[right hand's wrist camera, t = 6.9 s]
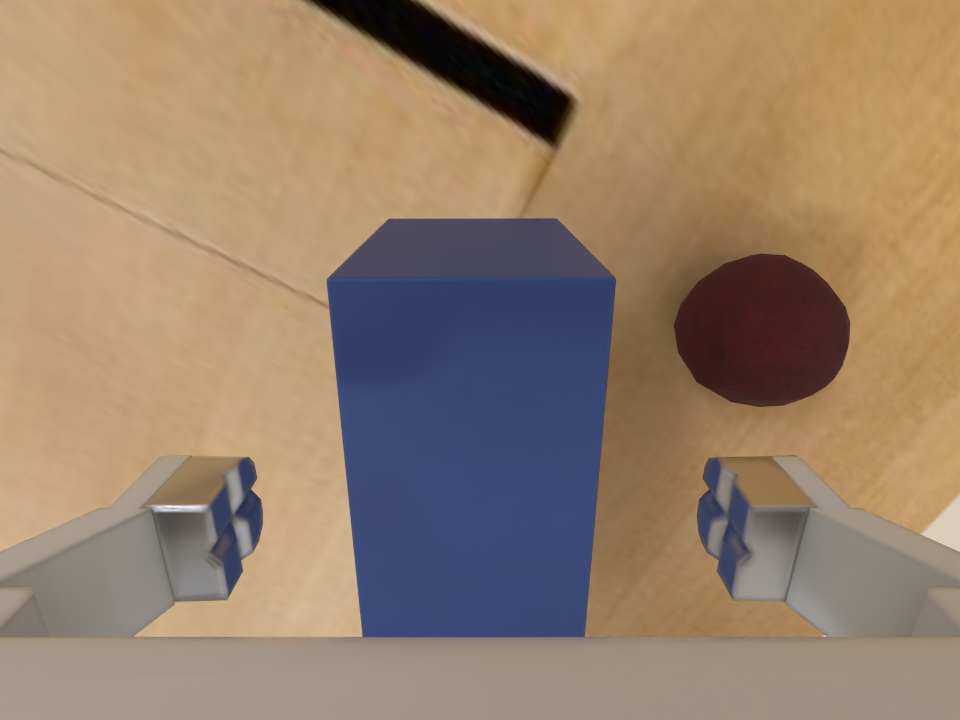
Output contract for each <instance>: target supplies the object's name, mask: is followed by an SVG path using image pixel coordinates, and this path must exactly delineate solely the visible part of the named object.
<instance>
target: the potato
mask: <svg viewBox="0 0 960 720" xmlns="http://www.w3.org/2000/svg"><path fill="white" fill-rule="evenodd" d="M674 328H675V335H676V342H677V348H678V353H679V354H680V356H681V358H682V359H683V361H684V362H685V364H686V365H687V367H688V368H689V370H690V371H691V373H692V375H693V376H694V378H695V380H696V382H698V383H699V384H701V385H703V386H705V387H706V388H708V389H710V390H712V391H713V392H715V393H717V394H718V395H720V396H722V397H724V398H725V399H727V400H729V401H731V402H735V403H740V404H746V405H752V406H757V407H764V406H783V405H786V404H789V403H792V402H795V401H798V400H801V399H804V398H806V397H808V396H811V395H813V394H814V393H816V392H818V391H819V390H821V389H823V388H824V387H826V386H827V385H828V384H829V383H830V382H831V381H832V380H833V379H834V378H835V376H836V375H837V373H838V372H839V370H840V369H841V367H842V365H843V362H844V359H845V356H846V352H847V349H848V345H849V335H850V321H849V317H848V314H847V310H846V307H845V306H844V304H843V303H842V302H841V300H840V299H839V298H838V296H837V295H836V294H835V292H834V291H833V290H832V288H831V287H830V286H829V285H828V283H827V282H826V281H825V280H824V279H823V278H821V277H820V276H819V275H818V274H817V273H816V272H815V271H814V270H812V269H811V268H809V267H807V266H806V265H804V264H802V263H800V262H798V261H796V260H794V259H792V258H789V257H787V256H785V255H772V254H757V255H751V256H748V257H745V258H742V259H739V260H735V261H732V262H729V263H726V264H723V265H722V266H721V267H719V268H718V269H716V270H715V271H713V272H712V273H710V274H709V275H707V276H706V277H704V278H703V279H701V280H700V281H699V282H698V283H697V284H696V285H695V287H694V288H693V289H692V291H691V292H690V293H689V294H688V296H687V297H686V298H685V300H684V301H683V302H682V303H681V306H680V309H679V312H678V315H677V318H676V321H675V324H674Z"/></svg>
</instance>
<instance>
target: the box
mask: <svg viewBox="0 0 960 720" xmlns="http://www.w3.org/2000/svg"><path fill="white" fill-rule="evenodd" d="M615 286H616V279H615V277H614V276H613V275H612V274H611V273H610V272H609V271H608V270H607V269H606V268H605V267H604V266H603V265H602V264H601V263H600V262H599V261H598V260H597V259H596V258H595V257H594V256H593V255H592V254H591V253H590V252H589V251H588V250H587V249H586V248H585V247H584V246H583V245H582V244H581V243H580V242H579V241H578V240H577V239H576V238H575V237H574V235H573V234H572V233H571V232H570V231H569V230H568V229H567V228H566V227H565V226H564V225H563V224H562V223H561V222H560V221H559V220H558V219H388V220H387V221H386V222H385V223H384V224H383V225H382V226H381V227H380V228H379V229H378V230H377V231H376V232H375V233H374V234H373V235H372V236H371V237H370V238H369V239H368V240H367V241H366V242H364V243H363V244H362V245H361V246H360V247H359V248H358V249H357V250H356V251H355V252H354V253H353V254H352V255H351V256H350V257H349V258H348V259H347V260H346V261H345V262H344V263H343V264H342V265H341V266H340V267H339V268H338V269H337V270H336V271H335V272H334V273H333V274H332V275H331V276H330V277H329V278H328V279H327V289H328V299H329V309H330V319H331V328H332V338H333V348H334V358H335V368H336V378H337V388H338V398H339V408H340V417H341V427H342V437H343V447H344V457H345V467H346V477H347V487H348V496H349V506H350V516H351V526H352V536H353V546H354V556H355V566H356V575H357V585H358V595H359V605H360V615H361V625H362V635H363V637H585V627H586V615H587V604H588V593H589V581H590V570H591V559H592V547H593V536H594V525H595V513H596V502H597V490H598V479H599V468H600V456H601V445H602V434H603V422H604V411H605V400H606V388H607V377H608V366H609V354H610V343H611V331H612V320H613V309H614V297H615Z"/></svg>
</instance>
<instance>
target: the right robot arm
mask: <svg viewBox="0 0 960 720" xmlns="http://www.w3.org/2000/svg"><path fill="white" fill-rule="evenodd" d="M256 480H257V475H256V470H255V465H254V462H253V461H252V460H251V459H250V458H249V457H221V456H165V457H160V458H159V459H158V460H157V461H156V462H155V463H154V464H153V465H152V466H151V467H150V468H149V469H148V470H147V471H146V472H145V473H144V474H143V475H142V476H141V477H140V478H139V479H138V480H136V481H135V482H134V483H133V484H132V485H131V486H130V487H129V488H128V489H127V490H126V491H125V492H124V493H123V494H122V495H121V496H120V497H119V498H118V499H117V500H116V501H115V502H114V503H113V504H112V505H111V506H110V507H109V508H99V509H97V510H94V511H92V512H90V513H87V514H85V515H83V516H81V517H78V518H76V519H74V520H72V521H69V522H67V523H65V524H63V525H60V526H58V527H56V528H53V529H51V530H49V531H47V532H44V533H42V534H40V535H38V536H35V537H33V538H31V539H29V540H26V541H24V542H22V543H19V544H17V545H15V546H13V547H10V548H8V549H6V550H4V551H1V552H0V720H960V552H958V551H956V550H954V549H952V548H949V547H947V546H945V545H943V544H940V543H938V542H936V541H934V540H931V539H929V538H927V537H924V536H922V535H920V534H918V533H915V532H913V531H911V530H909V529H906V528H904V527H902V526H900V525H897V524H895V523H893V522H891V521H888V520H886V519H884V518H882V517H879V516H877V515H875V514H873V513H870V512H868V511H866V510H863V509H861V508H851V507H850V506H849V505H848V504H847V503H846V502H845V501H844V500H843V499H842V498H841V497H840V496H839V495H838V494H837V493H836V492H835V491H834V490H833V489H832V488H831V487H830V486H829V485H828V484H827V483H826V482H825V481H824V480H823V479H822V478H821V477H820V476H819V475H818V474H817V473H816V472H815V471H814V470H813V469H812V468H811V467H810V466H809V465H808V464H807V463H806V462H805V461H804V460H803V459H802V458H800V457H797V456H794V455H789V456H761V457H721V458H709V459H708V461H707V463H706V465H705V469H704V474H703V480H704V481H705V483H706V484H707V486H708V488H709V490H708V491H707V492H706V493H705V494H704V495H703V496H702V497H701V498H700V499H699V505H698V512H697V521H698V531H699V535H700V538H701V541H702V544H703V546H704V548H705V549H706V551H707V553H709V554H710V555H712V556H713V557H715V558H716V559H718V560H719V563H718V569H717V572H718V574H719V575H720V577H721V579H722V581H723V583H724V584H725V586H726V588H727V590H728V592H729V593H730V595H731V597H732V599H733V600H746V601H782V602H786V603H785V604H786V605H787V606H789V607H790V608H791V609H792V610H794V611H795V612H796V613H798V614H799V615H800V616H801V617H803V618H804V619H805V620H806V621H808V622H809V623H810V624H812V625H813V626H814V627H815V628H817V629H818V630H819V631H821V632H822V633H823V634H824V635H826V636H827V637H133V636H135V635H136V634H137V633H138V632H140V631H141V630H142V629H144V628H145V627H146V626H147V625H149V624H150V623H151V622H152V621H154V620H155V619H156V618H158V617H159V616H160V615H161V614H163V613H164V612H165V611H167V610H168V609H169V608H170V607H172V606H173V605H174V604H175V603H174V602H178V601H213V600H227V599H228V597H229V595H230V594H231V592H232V590H233V588H234V586H235V585H236V583H237V581H238V579H239V577H240V575H241V574H242V572H243V569H242V563H241V560H242V559H244V558H245V557H247V556H248V555H250V554H251V553H253V551H254V549H255V547H256V546H257V544H258V542H259V538H260V534H261V530H262V525H263V510H262V504H261V499H260V498H259V497H258V496H257V495H256V494H255V493H254V492H253V491H252V490H251V488H252V486H253V484H254V483H255V481H256Z"/></svg>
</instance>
